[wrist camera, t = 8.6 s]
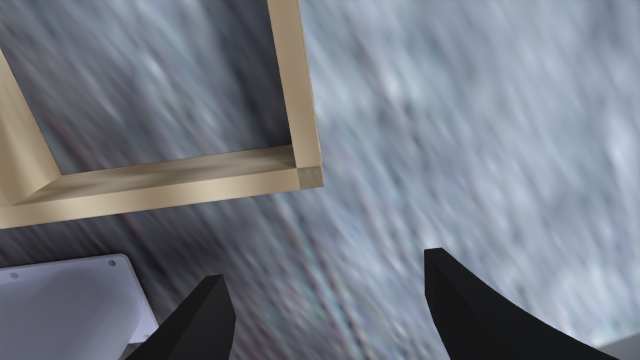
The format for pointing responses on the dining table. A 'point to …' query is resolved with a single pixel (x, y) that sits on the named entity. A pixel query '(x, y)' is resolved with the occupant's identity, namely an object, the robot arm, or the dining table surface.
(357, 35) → the dining table surface
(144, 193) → the birch frame
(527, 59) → the dining table surface
